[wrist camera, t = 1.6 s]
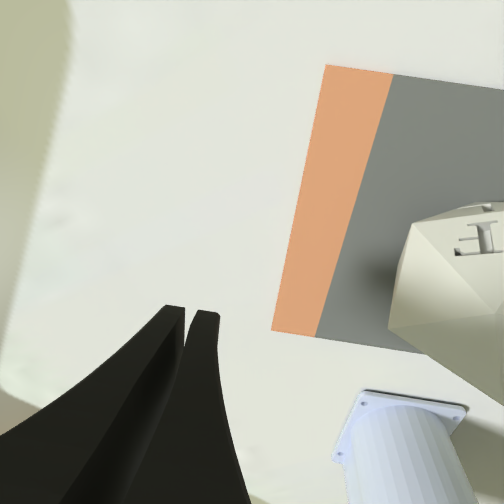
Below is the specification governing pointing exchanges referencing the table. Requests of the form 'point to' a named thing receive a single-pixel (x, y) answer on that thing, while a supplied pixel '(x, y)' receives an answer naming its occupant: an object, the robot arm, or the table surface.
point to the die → (455, 293)
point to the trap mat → (380, 194)
